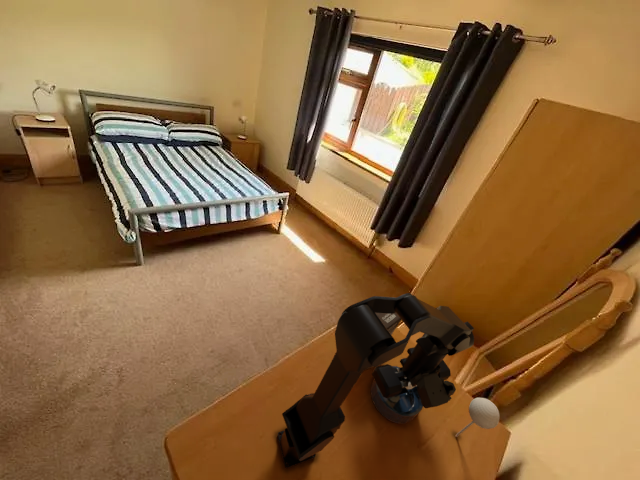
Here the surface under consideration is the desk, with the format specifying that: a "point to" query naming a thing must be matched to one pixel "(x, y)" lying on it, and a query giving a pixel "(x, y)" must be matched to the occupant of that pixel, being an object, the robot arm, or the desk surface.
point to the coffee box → (389, 321)
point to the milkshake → (398, 397)
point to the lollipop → (482, 414)
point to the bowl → (397, 404)
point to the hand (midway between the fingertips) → (398, 391)
